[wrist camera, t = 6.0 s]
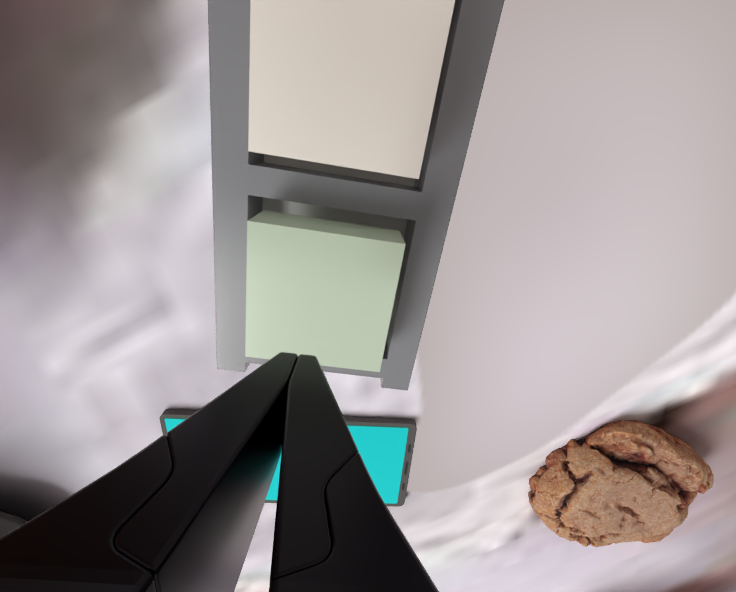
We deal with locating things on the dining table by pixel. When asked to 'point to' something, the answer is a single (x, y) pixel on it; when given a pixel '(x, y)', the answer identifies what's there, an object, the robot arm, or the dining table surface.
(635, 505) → the cookie
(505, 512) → the dining table surface
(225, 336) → the keypad
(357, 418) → the smartphone
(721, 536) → the dining table surface
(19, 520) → the casserole
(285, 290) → the sage key
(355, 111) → the cream key
